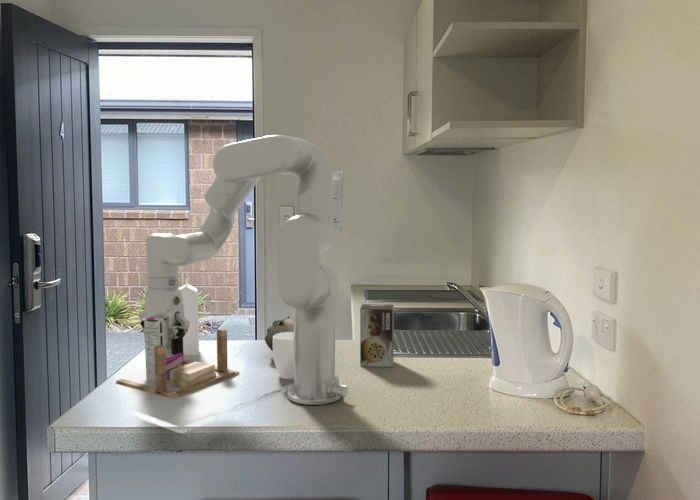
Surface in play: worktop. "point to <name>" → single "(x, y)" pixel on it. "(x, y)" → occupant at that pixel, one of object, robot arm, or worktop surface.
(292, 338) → the mug
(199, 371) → the offcut top
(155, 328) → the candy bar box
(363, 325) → the cookie box
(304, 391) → the robot arm
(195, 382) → the offcut middle
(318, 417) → the worktop surface
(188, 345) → the milk
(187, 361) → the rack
